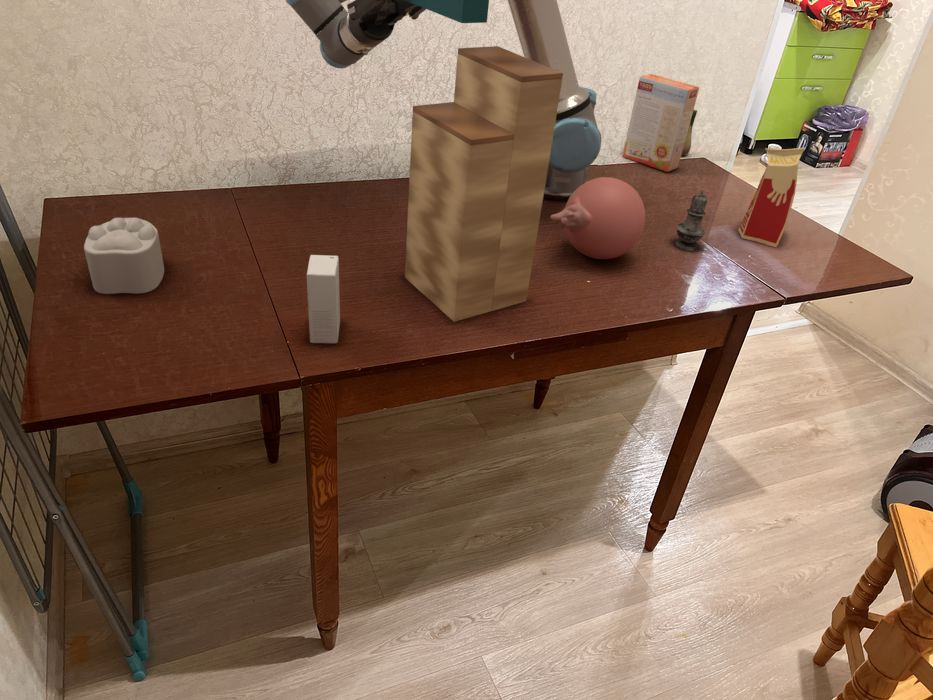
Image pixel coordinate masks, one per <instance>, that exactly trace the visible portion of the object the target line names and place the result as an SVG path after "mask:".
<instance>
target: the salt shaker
mask: <svg viewBox="0 0 933 700" xmlns="http://www.w3.org/2000/svg"><path fill="white" fill-rule="evenodd" d="M704 193H705V192H704V190H701V191H700V193H696V194H694V195H693V196H692V199H691V203H690V206H689V208H687V210H686V212H687V215H686V218H685V221H684V222H680V223H678V224H677V225H676V236H677V237H678V238H676V239H674V240H673V245H674V246H675V247H676V248H677V249H678V248H679V249H680V250H684V251H688V252H694V251H697V250H698V251H699V249H700V244H699V243H698V242H699V241H701V240H702V238H703V237H704V236H705V234H706V229H705V228H703V227H702V221H703V218H704V216H706V212H705V210H706V206H707V204H708V197H707V195H705V194H704Z"/></svg>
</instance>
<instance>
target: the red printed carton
mask: <svg viewBox="0 0 933 700" xmlns="http://www.w3.org/2000/svg"><path fill="white" fill-rule="evenodd" d="M805 149H806V147H797V148H787V149H786V148H785V149H781V148H766V147H765V151H766V153H767V166H766V167H765V169H764V172H763V174H762V176H761V178H760V180H759V182H758V183H759V184H758V186H757V188H756V191H755V193H754V195H753V197H752V199H751V201H750V203H749V205H748V208H747V209H746V212H745V214H744V216H743V217H742V220H741V222H740V225H739V227H738V229H737V231H738V233H739V235H740V238H741V239H744V240H748V241H753V242H756V243H760V244H764V245H765V246H769V247H773V248H775V249H777V248H778V246H779V243H780V241H781V240H782V236H783V234H784V232H785V230H786V228H787V225H788V222H789V218H790V215H791V211H792V207H793V204H794V199H795V196H796V190H797V189H796V187H797V181H798V173H799V161H800V159H801V157H802V155H803V152H804V151H805Z"/></svg>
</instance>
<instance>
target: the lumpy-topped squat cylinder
mask: <svg viewBox="0 0 933 700" xmlns="http://www.w3.org/2000/svg"><path fill="white" fill-rule="evenodd" d="M83 250H84V254H85V259H86V263H87V267H88V272H89V275H90V279H91V283H92V288H93V290H94V291H95V292H97V293H99V294H104V295H111V294H112V295H113V294H145V293H148V292H151V291H153V290H155V289H156V288H157V287H158V286H159V285H160V284H161V282H162V280H163V277H164V274H165V265H164V259H163V252H162V246H161V241H160V234H159V231H158V229H157V228H156V227H155V225H153V224H152V223H151V222H149V221H148V220H145V219H142V218H140V217H139V218H138V217H113V218H112V219H111V220H110V221H106V222H104V223H101V224H99V225H93V226H91V227H90V229H89V230H88V235H87V237H86V239H85V242H84V244H83Z"/></svg>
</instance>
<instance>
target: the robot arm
mask: <svg viewBox="0 0 933 700" xmlns="http://www.w3.org/2000/svg"><path fill="white" fill-rule="evenodd" d="M347 1H348V0H285V3H287V4H288V5H289V6H290V7H291V8H292V9H293V10H294V11H295V13H296V14H297V16H299V18H300V19H301V20H302V21H303V22H304V24H306V25H307V27H308V28H309V30H311V31H312V33H313V34H314V35H315V37H316V38H317V39H318V40H319V50H320V54H321V57H322V59H323V60H324V61H325V62H326V64H328V65H329V66H330V67H333V68H335V69H346V68H348V67H350V66H352V65H355V64H356V63H357V62H358V61H360V60H361V59H363V58H364V56H368V55H369V53H370V52H371V51H372V50H373V49H375V48H376V47H377V46H378V45H380V44H382V43H383V42H384V41H386V39H389V38H390V36H391V35H392V33H393V31H394V29H395V25H396V24H397V23H398V22H400V21H402V20H403V18H405V17H407V16H408V17H409V18H410V19H411V20H417V19H419V16H420V15H421V14H422V13H424V12H425V11H426V10H427V9H425V8H423V7H420V6H418V5H415V4H413V3H410V2H408V1H405V0H353V1H351V2H350V3H349V2H348V3H347V4H346V7H347V10H346V8H345V6H344V5H343V3H345V2H347ZM507 3H508V6H509V10H510V13H511V16H512V17H511V18H512V20H513V24H514V27H515V30H516V35H517V37H518V41H519V44H520V47H521V52H522V54H523V57H525V58H528V59H530V60H533V61H535V62H538V63H540V64H542V65H545V66H547V67H550V68H552V69H555V70H557V71H560V72H562V73H563V78H562V85H561V91H560V97H559V103H558V109H557V115H556V122H555V128H554V134H553V140H552V146H551V152H550V158H549V165H548V171H547V177H546V183H545V189H544V195H543V199H548V200H553V201H568V199H569V198H570V196H571V195H572V193H573V192H574V191H575V190H576V189H577V188H578V187H580V186H581V185H582V184H584V183H586V182H587V181H588V176H587V168H588V167H590V166H591V165H592V164H593V163H594V162H595V160H596V159H597V158H598V156H599V155H600V151H601V147H602V133H601V131H600V129H599V127H598V124H597V120H596V116H595V107H596V105H597V92H596V91H595V90H593V89H591V88H587V87H583V86H580V85H579V81H578V77H577V74H576V69H575V66H574V62H573V58H572V55H571V51H570V46H569V43H568V39H567V35H566V34H567V33H566V30H565V27H564V24H563V20H562V19H563V18H562V16H561V11H560V8H559V3H558V0H507Z"/></svg>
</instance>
